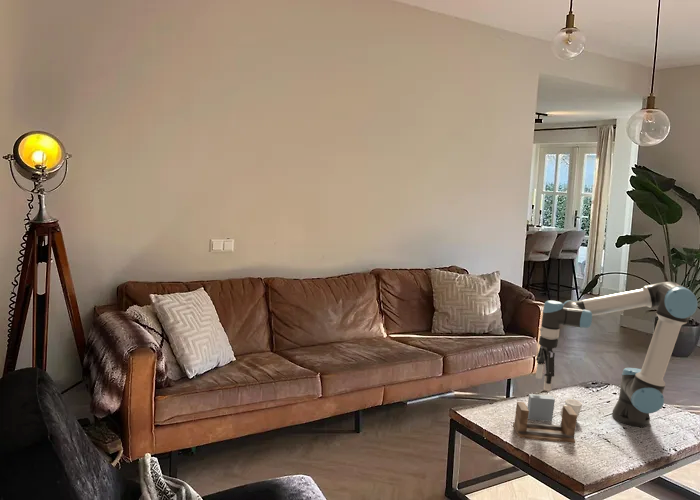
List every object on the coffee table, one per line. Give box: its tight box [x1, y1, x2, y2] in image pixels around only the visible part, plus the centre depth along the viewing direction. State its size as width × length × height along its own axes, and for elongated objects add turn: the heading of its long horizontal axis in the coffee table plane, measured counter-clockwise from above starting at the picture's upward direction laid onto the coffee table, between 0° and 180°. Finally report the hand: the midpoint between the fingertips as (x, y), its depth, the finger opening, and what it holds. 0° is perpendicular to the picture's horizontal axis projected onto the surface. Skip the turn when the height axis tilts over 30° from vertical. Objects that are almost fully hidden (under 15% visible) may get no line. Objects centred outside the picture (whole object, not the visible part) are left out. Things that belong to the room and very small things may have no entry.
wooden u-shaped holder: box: [512, 401, 578, 444], centre depth 240 cm, size 22×12×11 cm, turn 86°
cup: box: [560, 398, 583, 422], centre depth 256 cm, size 7×10×8 cm
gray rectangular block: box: [527, 393, 556, 422], centre depth 255 cm, size 10×4×10 cm, turn 86°
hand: (542, 384), depth 254 cm, fingers open, 13 cm apart
